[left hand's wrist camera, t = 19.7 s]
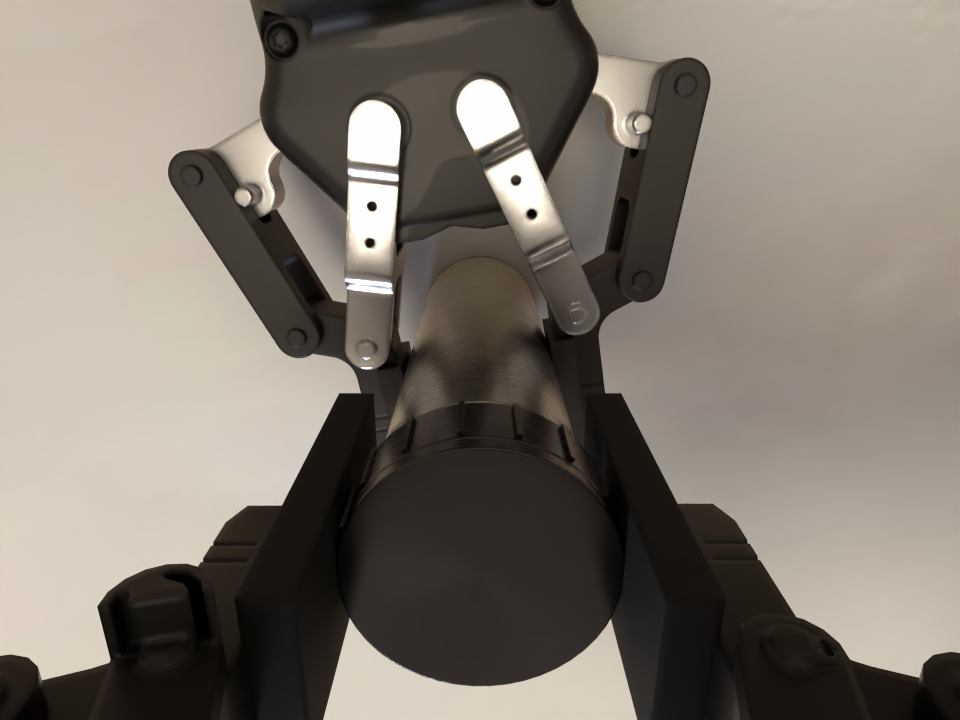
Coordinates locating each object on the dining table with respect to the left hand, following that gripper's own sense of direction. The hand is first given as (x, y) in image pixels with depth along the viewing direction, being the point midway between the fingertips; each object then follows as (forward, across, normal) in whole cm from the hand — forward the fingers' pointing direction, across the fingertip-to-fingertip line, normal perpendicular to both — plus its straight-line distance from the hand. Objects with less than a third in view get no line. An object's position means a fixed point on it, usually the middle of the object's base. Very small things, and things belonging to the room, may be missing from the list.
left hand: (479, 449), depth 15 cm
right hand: (+5, 0, -3) cm, 6 cm away
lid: (-4, 0, 0) cm, 4 cm away
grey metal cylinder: (+11, 0, 0) cm, 11 cm away
